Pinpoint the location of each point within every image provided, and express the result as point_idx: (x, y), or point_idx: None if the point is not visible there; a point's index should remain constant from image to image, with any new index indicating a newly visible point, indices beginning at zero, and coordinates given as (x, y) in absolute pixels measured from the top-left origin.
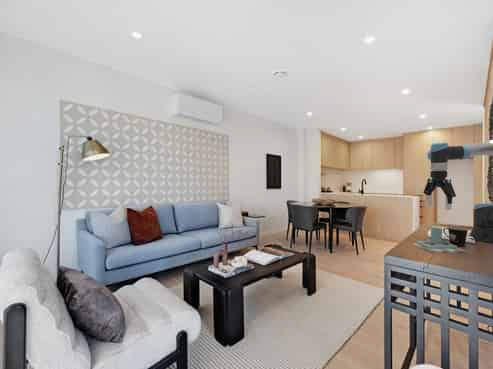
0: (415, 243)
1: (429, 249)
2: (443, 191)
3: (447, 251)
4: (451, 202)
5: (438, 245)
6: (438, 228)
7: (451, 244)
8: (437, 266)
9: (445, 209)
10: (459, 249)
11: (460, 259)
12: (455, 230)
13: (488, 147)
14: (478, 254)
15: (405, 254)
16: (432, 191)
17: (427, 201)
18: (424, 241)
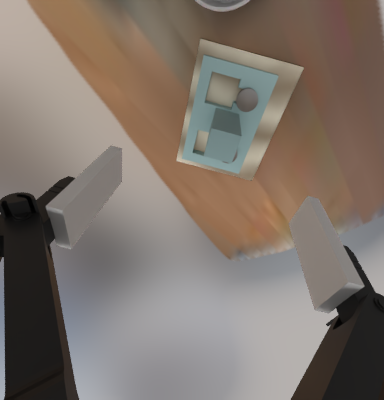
0: (181, 157)
1: (242, 172)
2: (305, 381)
3: (273, 132)
4: (352, 260)
5: (243, 138)
6: (233, 149)
7: (255, 74)
8: None
9: (292, 225)
10: (286, 73)
11: (326, 156)
12: (241, 5)
13: None
14: (345, 32)
15: (236, 235)
16: (50, 267)
17: (103, 204)
18: (191, 138)
